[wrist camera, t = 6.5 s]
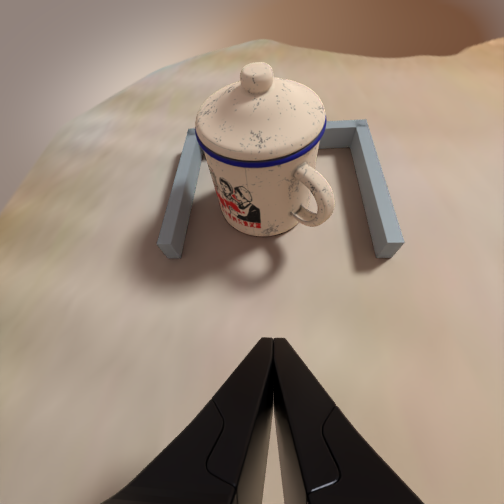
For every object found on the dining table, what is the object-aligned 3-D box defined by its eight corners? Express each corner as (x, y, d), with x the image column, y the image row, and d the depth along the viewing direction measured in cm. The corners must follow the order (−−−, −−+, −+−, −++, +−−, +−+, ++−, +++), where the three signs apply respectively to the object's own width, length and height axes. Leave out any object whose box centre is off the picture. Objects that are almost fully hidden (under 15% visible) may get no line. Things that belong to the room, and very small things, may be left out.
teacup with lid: (202, 199, 25) (153, 71, 15) (270, 158, 27) (267, 22, 17) (277, 282, 20) (280, 172, 10) (354, 223, 22) (420, 84, 12)
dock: (391, 257, 20) (404, 242, 18) (167, 258, 22) (156, 244, 20) (359, 139, 28) (366, 119, 26) (194, 147, 29) (188, 128, 27)
